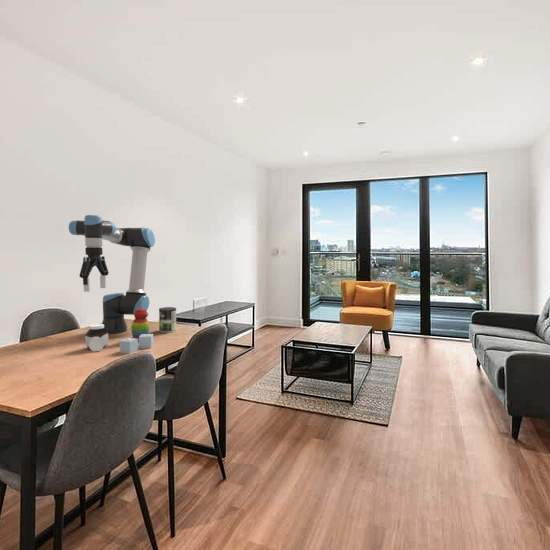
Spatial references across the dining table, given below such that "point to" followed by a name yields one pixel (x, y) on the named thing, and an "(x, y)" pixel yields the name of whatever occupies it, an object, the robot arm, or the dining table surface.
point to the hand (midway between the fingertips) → (95, 289)
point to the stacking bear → (140, 323)
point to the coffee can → (167, 319)
